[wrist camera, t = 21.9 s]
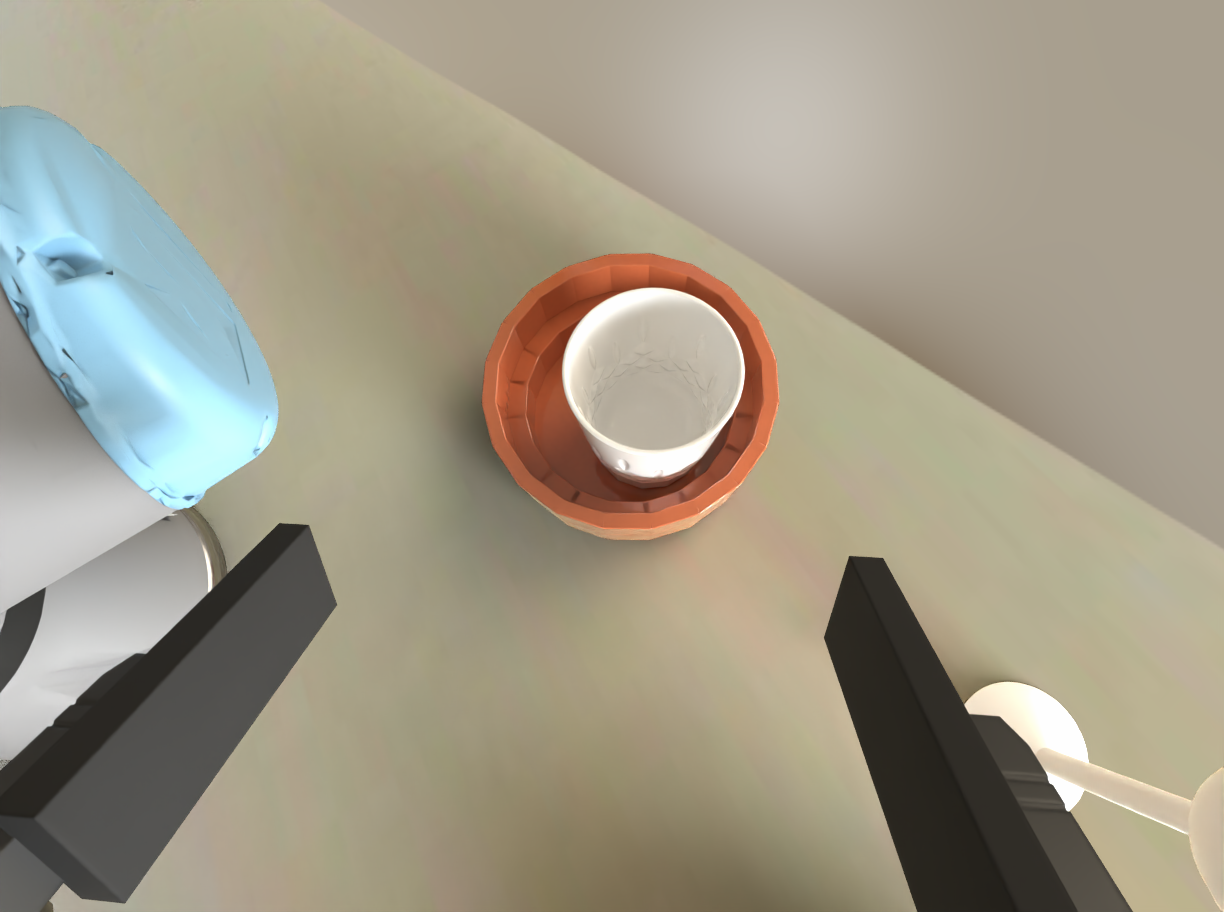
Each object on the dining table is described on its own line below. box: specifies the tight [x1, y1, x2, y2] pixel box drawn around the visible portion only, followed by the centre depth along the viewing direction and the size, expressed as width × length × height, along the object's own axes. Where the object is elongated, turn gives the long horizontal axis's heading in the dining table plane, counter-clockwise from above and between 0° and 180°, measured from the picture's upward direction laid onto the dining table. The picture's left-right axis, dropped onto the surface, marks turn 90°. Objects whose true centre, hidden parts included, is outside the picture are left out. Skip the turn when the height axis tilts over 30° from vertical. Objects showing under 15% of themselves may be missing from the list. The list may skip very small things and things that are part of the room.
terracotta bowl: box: [482, 253, 779, 540], centre depth 31 cm, size 16×16×6 cm
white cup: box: [562, 288, 745, 489], centre depth 27 cm, size 8×8×10 cm
